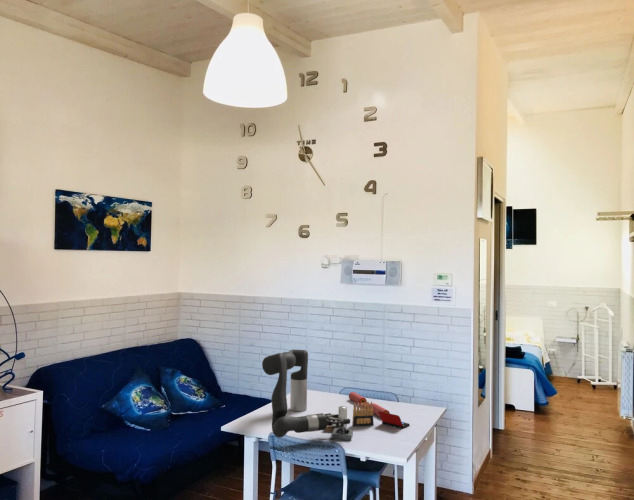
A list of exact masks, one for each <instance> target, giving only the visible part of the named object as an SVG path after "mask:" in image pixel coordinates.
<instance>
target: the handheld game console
mask: <svg viewBox="0 0 634 500" xmlns="http://www.w3.org/2000/svg"><path fill="white" fill-rule="evenodd" d="M379 415H380V417H379V418H380V421H381V424H382V425H386V426H389V425H392V426H391V427H394V426H395V427H394V428H397V427H398V428H397V429H401V428H402V430H403V429H405V428H408V427H409V426H410V423H408V422H404V421H402V420H401V416H399V415H397V414H394V413H393V414H392V413H390V414H389V413H385V412H379Z"/></svg>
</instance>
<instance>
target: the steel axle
mask: <svg viewBox="0 0 634 500" xmlns="http://www.w3.org/2000/svg"><path fill="white" fill-rule="evenodd" d="M338 414H339V419H342V420H343V419H348V407H347V406H345V405H340V406H338ZM339 424H341V423H339ZM347 429H348V424H344V427H338V433H340V434H347Z"/></svg>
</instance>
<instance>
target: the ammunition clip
mask: <svg viewBox="0 0 634 500" xmlns="http://www.w3.org/2000/svg"><path fill="white" fill-rule="evenodd" d="M367 402H368V403H367V409H366V403H365V402H364V407H363V405H362V402H361V404H360V405H359V402H358V403H355V402H353V409H352V414H353V415H352V426H353V427H372V426H375V425H374V424H375V422H374V413H373V404H372V403H373V401H370V402H369V401H367ZM369 403H370V409H369Z"/></svg>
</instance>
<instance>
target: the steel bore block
mask: <svg viewBox="0 0 634 500" xmlns="http://www.w3.org/2000/svg"><path fill="white" fill-rule="evenodd" d="M353 436H354V429H351V428H347V434H340V433H338V428H334V430H333V432H331V440H335V441H352V438H353Z"/></svg>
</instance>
